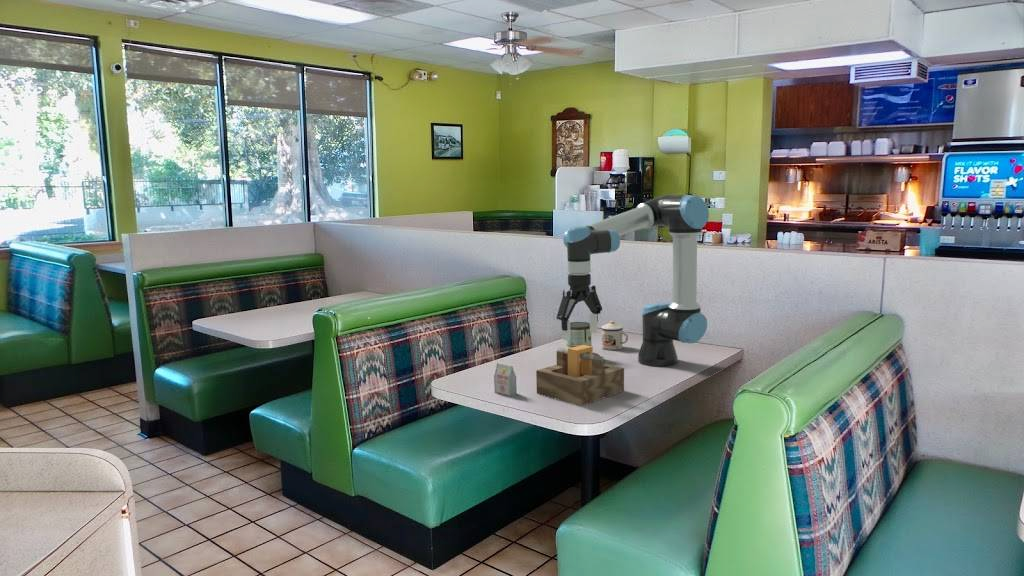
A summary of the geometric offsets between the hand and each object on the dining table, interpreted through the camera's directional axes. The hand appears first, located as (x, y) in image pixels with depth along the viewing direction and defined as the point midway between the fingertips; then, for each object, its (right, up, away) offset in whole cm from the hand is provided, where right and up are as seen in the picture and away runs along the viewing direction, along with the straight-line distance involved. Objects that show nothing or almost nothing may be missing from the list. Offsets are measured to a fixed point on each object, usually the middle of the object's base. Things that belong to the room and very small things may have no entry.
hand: (580, 336), depth 236 cm
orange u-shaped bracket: (0, -14, +2) cm, 14 cm away
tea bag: (-25, -20, +4) cm, 32 cm away
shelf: (0, -19, +3) cm, 19 cm away
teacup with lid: (+21, -10, +62) cm, 66 cm away
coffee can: (+4, -12, +47) cm, 49 cm away
